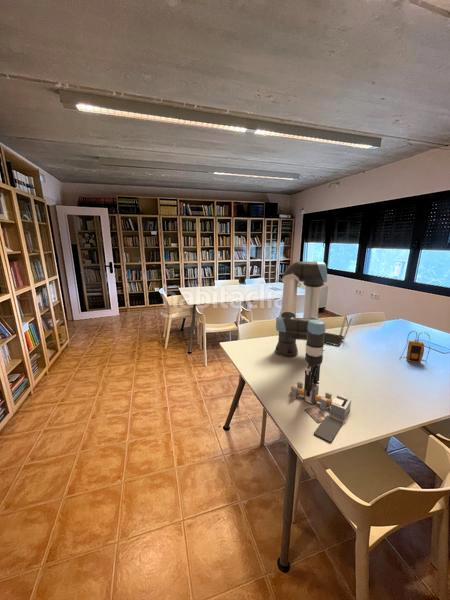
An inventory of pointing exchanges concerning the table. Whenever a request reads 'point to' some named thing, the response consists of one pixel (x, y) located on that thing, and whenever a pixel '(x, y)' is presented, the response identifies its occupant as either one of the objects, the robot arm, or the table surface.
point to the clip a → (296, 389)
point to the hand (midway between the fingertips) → (310, 398)
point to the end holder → (341, 408)
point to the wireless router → (336, 338)
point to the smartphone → (328, 429)
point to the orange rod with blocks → (317, 397)
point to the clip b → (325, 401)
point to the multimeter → (415, 350)
